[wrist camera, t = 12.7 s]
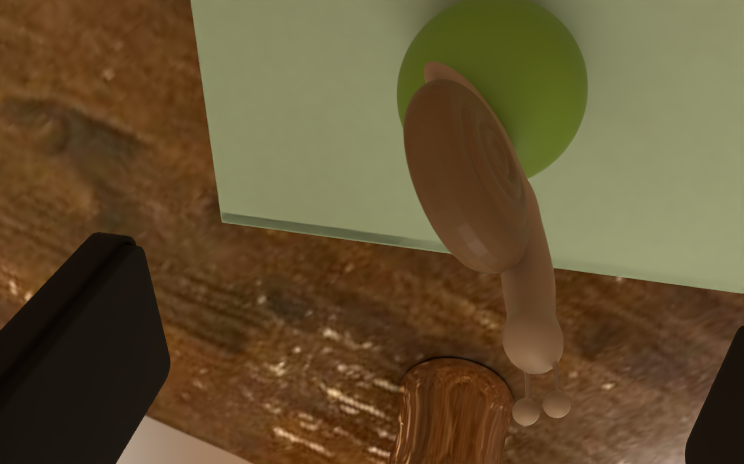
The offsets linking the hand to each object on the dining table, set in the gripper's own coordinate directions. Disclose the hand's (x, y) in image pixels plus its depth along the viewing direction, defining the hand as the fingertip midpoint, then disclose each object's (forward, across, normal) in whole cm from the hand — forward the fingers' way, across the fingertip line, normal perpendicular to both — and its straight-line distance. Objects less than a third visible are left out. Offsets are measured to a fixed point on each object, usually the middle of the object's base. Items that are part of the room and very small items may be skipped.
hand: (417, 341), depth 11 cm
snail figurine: (+14, -1, +1) cm, 14 cm away
